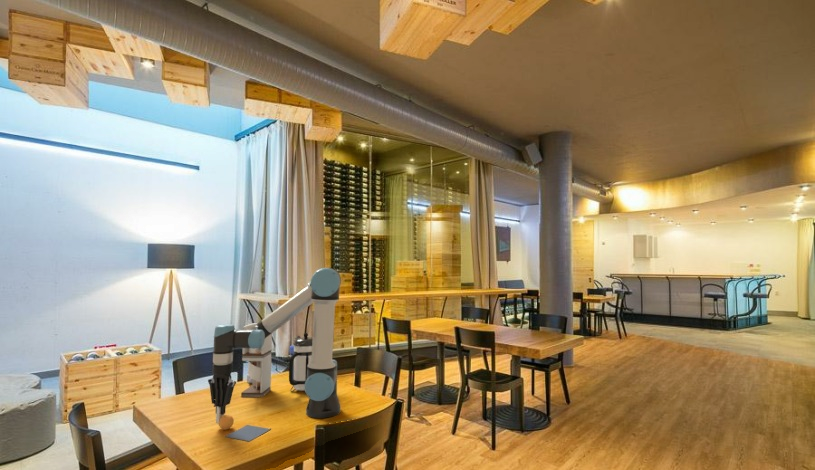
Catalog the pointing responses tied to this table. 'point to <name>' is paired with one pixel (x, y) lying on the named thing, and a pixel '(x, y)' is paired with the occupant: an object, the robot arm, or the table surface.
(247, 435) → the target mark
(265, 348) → the wooden cubby shelf
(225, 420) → the ball
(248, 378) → the charger
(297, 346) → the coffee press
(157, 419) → the table surface
